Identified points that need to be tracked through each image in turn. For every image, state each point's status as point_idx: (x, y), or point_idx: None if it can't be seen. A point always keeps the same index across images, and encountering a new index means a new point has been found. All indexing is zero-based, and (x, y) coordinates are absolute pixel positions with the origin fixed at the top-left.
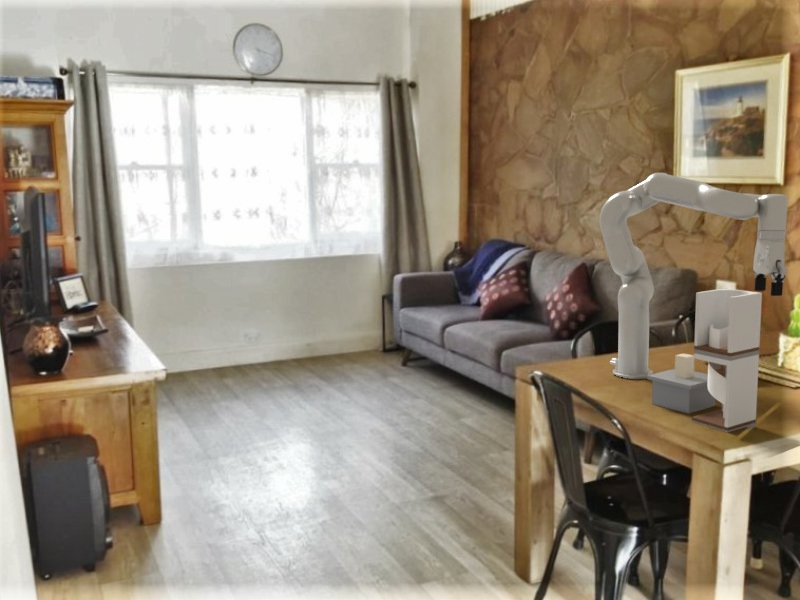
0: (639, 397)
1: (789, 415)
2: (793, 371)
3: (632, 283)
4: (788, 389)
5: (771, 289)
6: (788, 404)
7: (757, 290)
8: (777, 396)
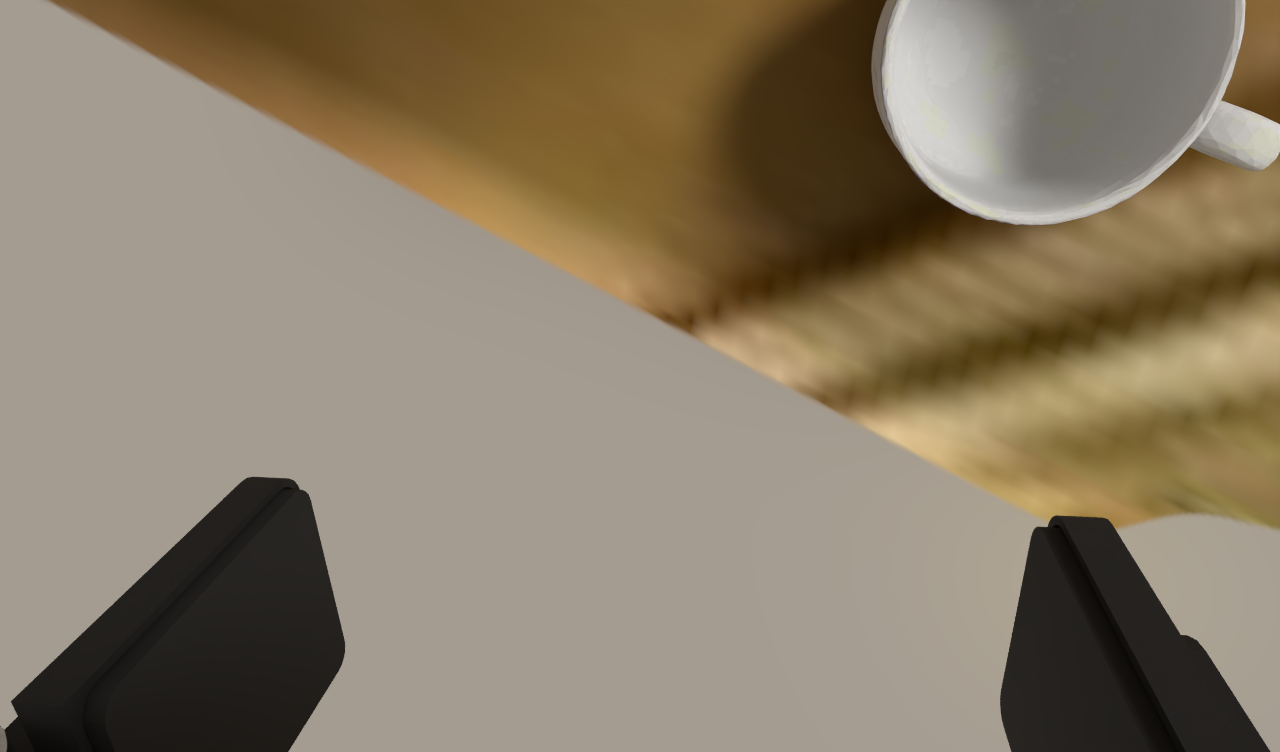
0: None
1: (102, 7)
2: None
3: None
4: (644, 283)
5: (179, 554)
6: (323, 116)
7: (1029, 554)
8: (492, 136)
